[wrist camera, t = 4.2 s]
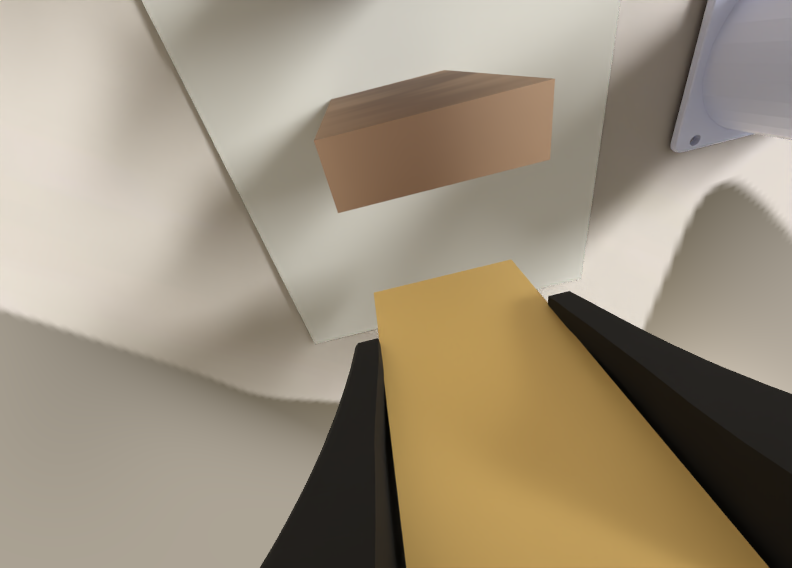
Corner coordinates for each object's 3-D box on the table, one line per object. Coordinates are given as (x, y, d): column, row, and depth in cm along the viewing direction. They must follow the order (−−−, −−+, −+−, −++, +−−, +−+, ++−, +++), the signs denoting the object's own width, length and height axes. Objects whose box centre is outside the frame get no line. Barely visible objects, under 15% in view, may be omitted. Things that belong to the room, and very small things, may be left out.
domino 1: (444, 70, 14) (555, 78, 7) (448, 111, 15) (549, 159, 7) (331, 99, 14) (313, 140, 7) (342, 138, 15) (337, 213, 8)
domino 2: (511, 259, 12) (803, 608, 4) (511, 294, 12) (751, 633, 5) (373, 292, 12) (420, 695, 4) (383, 325, 13) (437, 703, 5)
